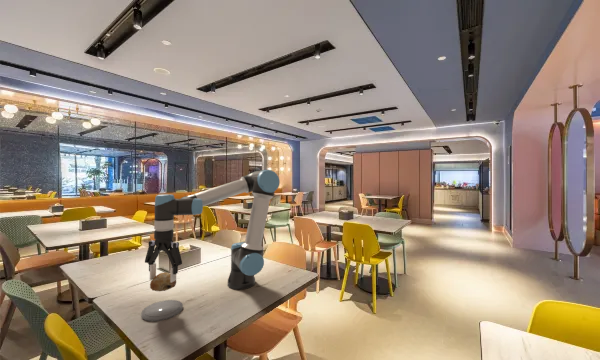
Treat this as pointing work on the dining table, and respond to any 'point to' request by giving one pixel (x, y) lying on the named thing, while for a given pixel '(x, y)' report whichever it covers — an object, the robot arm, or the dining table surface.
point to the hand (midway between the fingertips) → (162, 280)
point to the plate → (162, 310)
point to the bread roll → (162, 282)
